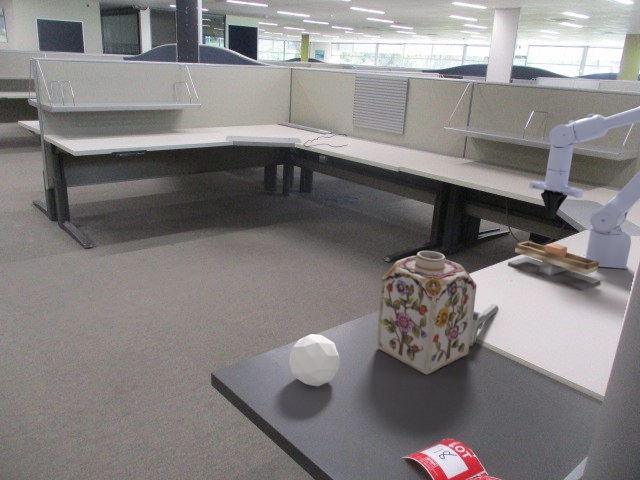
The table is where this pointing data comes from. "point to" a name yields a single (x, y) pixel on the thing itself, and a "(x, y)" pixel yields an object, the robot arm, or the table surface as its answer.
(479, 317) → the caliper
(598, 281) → the balance beam
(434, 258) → the decorative jar
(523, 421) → the table surface
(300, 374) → the ball
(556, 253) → the block
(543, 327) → the table surface
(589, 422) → the table surface
